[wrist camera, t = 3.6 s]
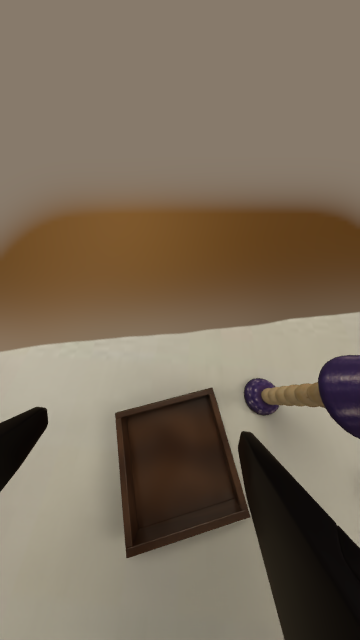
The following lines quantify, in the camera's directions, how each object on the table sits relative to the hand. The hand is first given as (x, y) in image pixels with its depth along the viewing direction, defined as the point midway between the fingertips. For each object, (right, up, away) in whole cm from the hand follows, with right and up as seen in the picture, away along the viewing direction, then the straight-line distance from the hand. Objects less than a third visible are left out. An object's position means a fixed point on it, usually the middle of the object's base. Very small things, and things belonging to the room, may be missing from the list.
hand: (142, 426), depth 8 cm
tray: (+1, -10, +12) cm, 16 cm away
